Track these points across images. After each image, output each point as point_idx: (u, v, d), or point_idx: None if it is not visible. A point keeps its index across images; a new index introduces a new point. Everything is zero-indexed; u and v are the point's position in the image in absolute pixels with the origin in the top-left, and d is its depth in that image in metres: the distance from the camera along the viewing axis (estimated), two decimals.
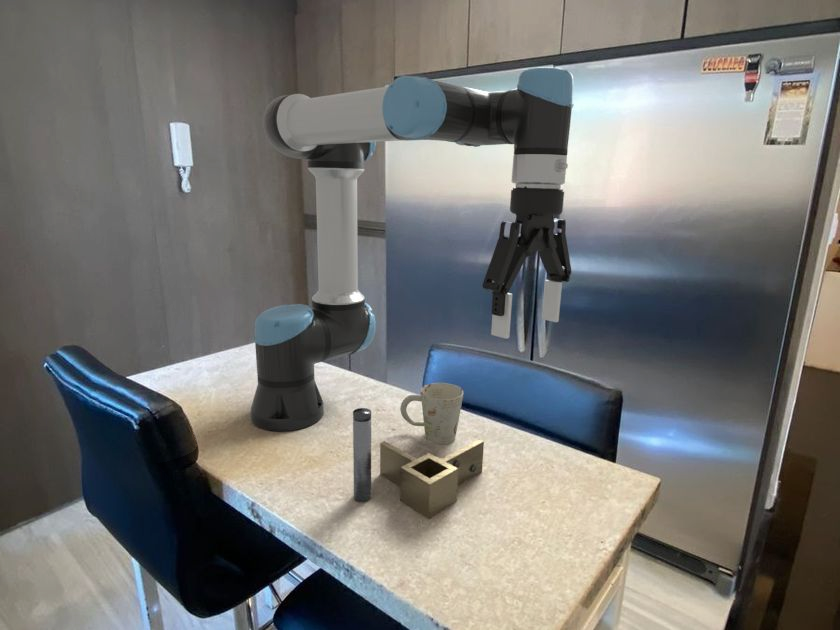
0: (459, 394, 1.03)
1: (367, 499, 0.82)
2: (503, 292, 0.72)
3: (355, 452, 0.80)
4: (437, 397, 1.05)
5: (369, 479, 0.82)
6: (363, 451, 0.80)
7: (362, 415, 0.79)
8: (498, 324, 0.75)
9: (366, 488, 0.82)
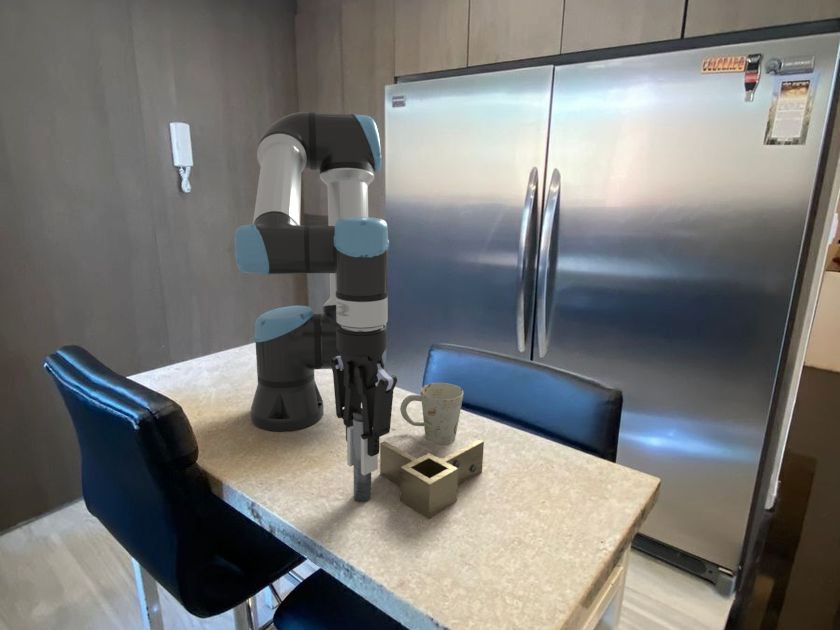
0: (459, 394, 1.03)
1: (367, 499, 0.82)
2: (345, 424, 0.82)
3: (355, 452, 0.80)
4: (437, 397, 1.05)
5: (369, 479, 0.82)
6: None
7: (362, 415, 0.79)
8: None
9: (366, 488, 0.82)
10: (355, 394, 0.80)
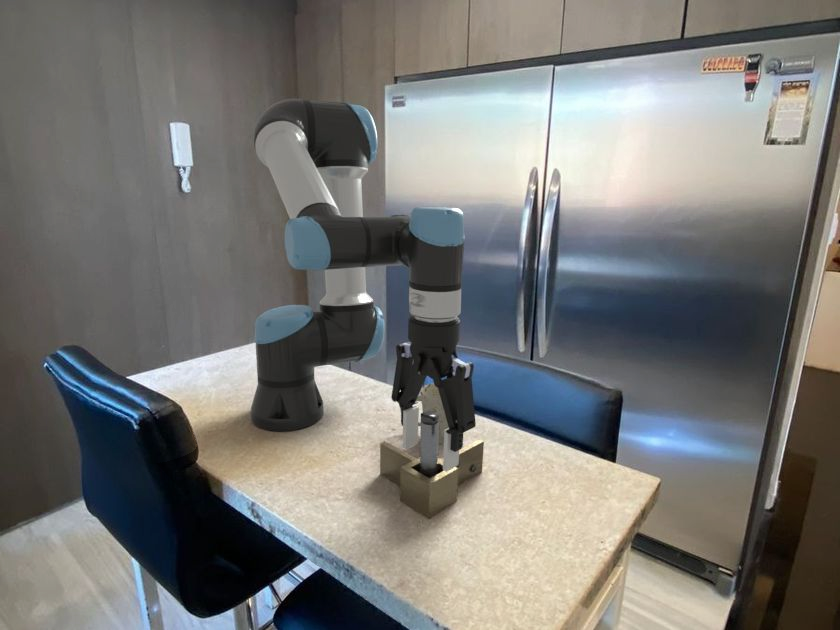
0: None
1: None
2: (400, 406, 0.82)
3: (423, 455, 0.80)
4: (437, 397, 1.05)
5: None
6: (431, 454, 0.79)
7: (431, 418, 0.78)
8: None
9: None
10: (418, 383, 0.80)
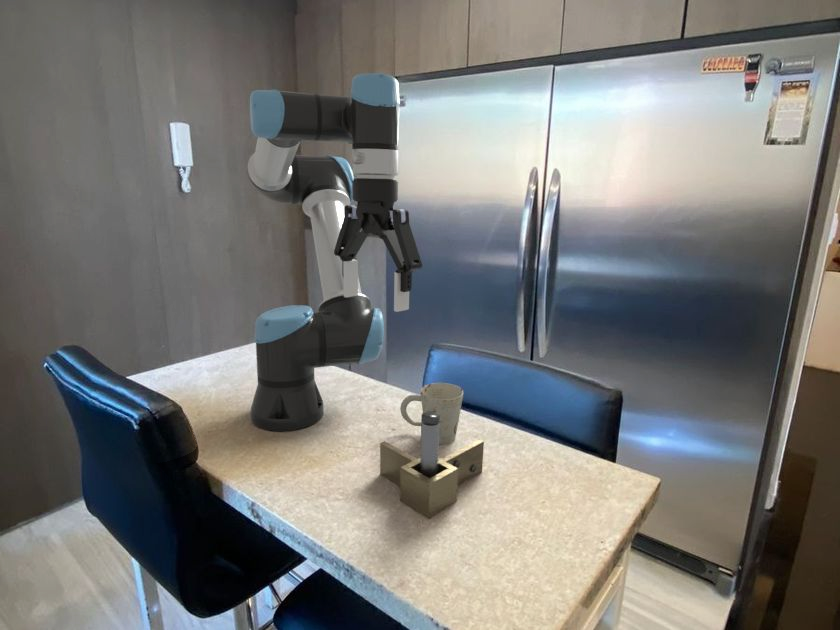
0: (459, 394, 1.03)
1: None
2: None
3: (423, 456, 0.80)
4: (437, 397, 1.05)
5: None
6: (431, 455, 0.79)
7: (432, 419, 0.78)
8: None
9: None
10: (359, 239, 0.91)
